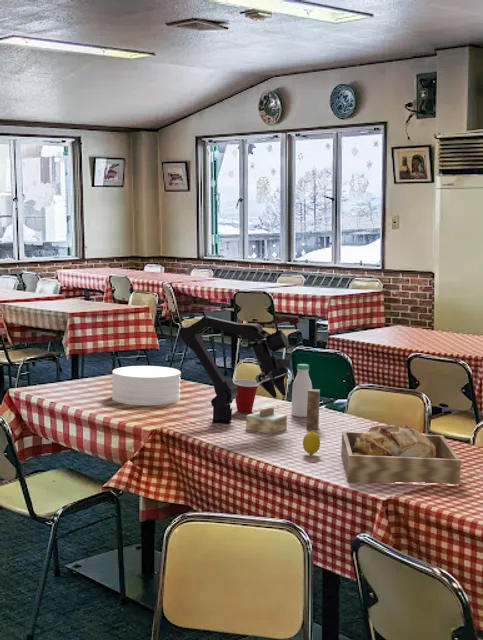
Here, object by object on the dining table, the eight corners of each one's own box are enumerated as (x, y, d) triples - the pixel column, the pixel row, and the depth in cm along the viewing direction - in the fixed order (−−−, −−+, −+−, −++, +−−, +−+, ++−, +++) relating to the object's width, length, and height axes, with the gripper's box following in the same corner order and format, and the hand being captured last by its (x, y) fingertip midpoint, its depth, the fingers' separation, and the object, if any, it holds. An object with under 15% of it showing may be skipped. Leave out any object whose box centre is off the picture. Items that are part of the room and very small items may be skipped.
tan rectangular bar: (306, 428, 336) (307, 390, 335) (307, 426, 340) (309, 388, 339) (317, 429, 336) (318, 391, 334) (318, 427, 340) (320, 389, 338)
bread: (344, 462, 299) (343, 416, 297) (429, 458, 298) (428, 412, 296) (352, 485, 274) (350, 436, 272) (445, 481, 273) (444, 431, 271)
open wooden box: (246, 429, 332) (246, 417, 332) (260, 424, 341) (260, 413, 340) (272, 434, 327) (272, 422, 326) (286, 428, 335) (286, 417, 335)
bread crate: (347, 482, 270) (348, 455, 269) (341, 455, 300) (342, 431, 299) (459, 487, 268) (461, 460, 268) (441, 459, 299) (443, 435, 298)
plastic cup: (247, 415, 355) (248, 385, 354) (225, 411, 362) (226, 381, 360) (264, 411, 364) (265, 381, 362) (242, 407, 370) (243, 377, 369)
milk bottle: (309, 418, 354) (311, 366, 352) (289, 416, 356) (291, 365, 354) (312, 414, 362) (314, 363, 360) (292, 412, 363) (294, 362, 361)
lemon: (301, 453, 302) (302, 429, 301) (318, 453, 302) (319, 429, 301) (303, 457, 296) (304, 433, 295) (320, 457, 297) (321, 433, 296)
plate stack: (193, 398, 387) (194, 371, 385) (152, 408, 363) (152, 380, 362) (140, 389, 402) (141, 363, 400) (97, 399, 378) (98, 371, 377)
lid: (246, 417, 332) (246, 409, 332) (260, 413, 340) (261, 405, 340) (272, 422, 326) (273, 414, 326) (286, 417, 335) (287, 409, 334)
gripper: (291, 345, 330) (308, 385, 329) (274, 352, 348) (289, 390, 347) (264, 356, 326) (281, 397, 326) (248, 362, 344) (264, 401, 343)
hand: (279, 396), depth 335 cm, fingers open, 9 cm apart
